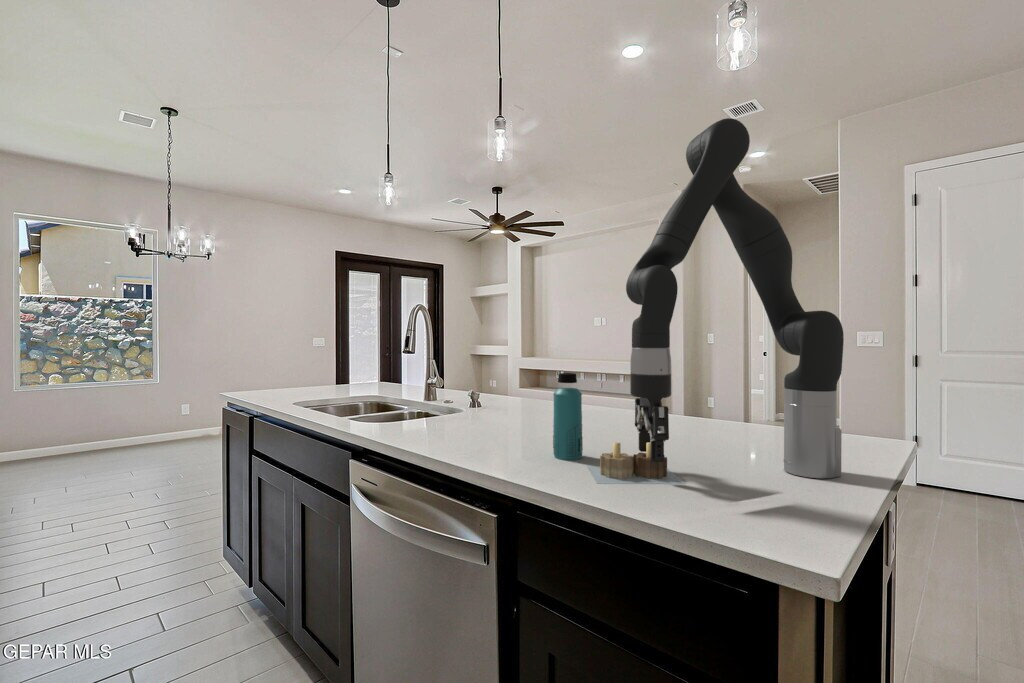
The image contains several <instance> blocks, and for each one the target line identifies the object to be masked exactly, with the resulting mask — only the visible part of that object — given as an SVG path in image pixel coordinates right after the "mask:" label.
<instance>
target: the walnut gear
mask: <svg viewBox="0 0 1024 683" xmlns="http://www.w3.org/2000/svg"><path fill="white" fill-rule="evenodd" d="M632 456H633V473H635V476H638V477H639V476H641V477H646V478H647V479H650V478H658V479H662V477H663V476H664V477H667V468H668V457H667V456H665V454H664V461H663V462H653V461H651V458H647V457H646V452H638V453H637V454H636V453H635V454H633V455H632Z"/></svg>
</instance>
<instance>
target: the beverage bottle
mask: <svg viewBox="0 0 1024 683" xmlns="http://www.w3.org/2000/svg"><path fill="white" fill-rule="evenodd" d="M557 378H558V379H557V382H558V383H560V384H577V382H578V379H577V374H576V373H573V372H561V373H558V377H557ZM552 396H553V431H552V432H553V434H552V445H553V446H552V448H553V456H554V458H555V459H557V460H563V461H575V460H581V459H582V457H583V449H584V448H583V447H584V446H583V438H584V437H583V433H584V432H583V411H582V409H583V408H582V407H583V405H582V401H583V400H582V399H583V398H582V396H583V393H582V392H581V391H580V390H579V389H578V388H577V387H576V388H574V387H558V388H557V389H556V390H555V391H554V392H553V395H552Z"/></svg>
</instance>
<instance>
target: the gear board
mask: <svg viewBox="0 0 1024 683" xmlns="http://www.w3.org/2000/svg"><path fill="white" fill-rule="evenodd" d="M612 452H613V458H620V453H621V442H618V441H617V442H615V441H613V442H612ZM645 453H646V457H647V458H651V442H647V443H646V452H645ZM586 468H587V469H588V471H589V472H590V474H591V476H592V478H593V480H594V481H595V483H596V484H598V485H602V484H603V485H610V484H611V485H687V483H686V482H685V481H684V480H682V479H681V478H680V477H679V476H678V475H676V473H674V472H673V471H672V470H670V469H669V468H668V467H667V477H664V476H663V477H662V479H658V478H650V479H647V478H646V477H641V476H639V477H638V476H635V473H633V475H632V477H631V478H622V479H618V478H612V477H611V478H607V477H606V476H605V475H601V474H600V465H587V466H586Z"/></svg>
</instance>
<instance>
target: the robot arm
mask: <svg viewBox="0 0 1024 683" xmlns="http://www.w3.org/2000/svg"><path fill="white" fill-rule="evenodd" d="M750 142H751V140H750V134H749V131H748V128H747V127H746V126H745V124H743V123H742V122H741V121H740V120H738V119H735V118H729V117H727V118H722V119H720V120H718V121H716V122H714V123H712V124H711V125H710V126H708V127H706V129H704V130H703V131H702V132H700V133H699V134H698V135H696V136H695V137H694V138H693V139H692V140H691V141H690V142H689V143H688V145H687V147H686V151H685V159H686V160H685V161H686V163H687V166H688V168H689V170H690V172H691V174H692V177H691V178H690V180H689V182H688V184H686V187H685V188H684V189H683V191H682V192H681V193H680V195H678V197H677V198H676V199H675V201H674V202H673V203H672V205H671V207H670V208H669V210H668V211H667V212H666V214H665V216H664V217H663V219H662V220H661V222H660V225H659V227H658V229H657V231H656V232H655V235H654V237H653V240H652V242H651V244H649V247H648V248H647V249H646V251H645V252H644V253H643V254H642V255H641V257H640V258H639V259H638V261H637V262H636V263H635V265H634V267H633V268H632V269H631V271H630V273H629V275H628V277H627V280H626V285H625V293H626V295H627V297H628V299H629V300H630V301H631V302H632V303H634V304H635V305H638V306H641V311H640V314H639V316H638V317H637V318H635V319H634V320H633V322H632V325H631V354H630V372H629V373H630V375H629V376H630V379H629V380H630V381H629V382H630V383H629V384H630V386H629V387H630V389H629V390H630V391H629V392H630V395H631V396H632V397H634V398H635V400H634V402H635V403H634V404H635V406H634V427H635V428H636V430H637V433H638V450H639V451H640V453H646V443H647V442H651V461H653V462H663V461H664V455H665V442H666V441H669V439H670V432H669V431H670V428H669V426H670V425H669V424H670V423H669V420H670V418H669V412H670V411H669V410H670V409H669V407H668V406H665V405H663V403H662V402H663V401H662V399H667V398H669V397H671V396H672V356H671V347H670V345H671V344H670V343H671V340H670V339H671V337H670V336H671V335H670V334H671V331H670V330H671V329H670V326H671V322H672V319H673V316H674V312H675V311H674V310H675V307H676V303H677V298H678V287H679V286H678V281H677V278H676V277H677V276H676V275H675V273H674V271H672V269H673V268H674V267H676V266H678V265H679V264H681V263H682V262H683V261H684V260H685V258H686V257H687V255H688V253H689V251H690V249H691V246H692V244H693V242H694V241H695V239H696V238H697V235H698V232H699V231H700V228H701V226H702V224H703V222H704V220H705V218H706V217H707V215H708V213H709V212H710V209H711V208H712V207H713V209H714V211H716V214H717V215H718V218H719V219H720V221H721V223H722V225H723V227H724V229H725V231H726V233H727V234H728V237H729V238H730V240H731V242H732V246H733V247H734V249H735V251H736V253H737V255H738V257H739V259H740V261H741V263H742V265H743V266H744V268H745V270H746V272H747V274H748V276H749V278H750V280H751V282H752V284H753V286H754V288H755V291H756V293H757V294H758V296H759V299H760V300H761V301H760V302H761V303H762V305H763V307H764V310H765V313H766V315H767V317H768V318H767V319H768V321H769V324H770V327H771V329H772V332H773V335H774V338H775V339H776V341H777V343H778V345H779V346H780V348H781V349H782V350H783V351H785V352H786V353H787V354H789V355H793V356H799V359H798V360H799V361H798V365H797V367H796V368H795V369H794V370H793V371H791V372H789V373H786V375H785V376H784V379H783V380H784V381H783V382H784V383H783V384H784V385H783V387H784V388H783V392H784V393H783V400H784V401H783V402H784V403H783V411H784V412H783V418H784V419H783V422H784V423H783V470H784V471H785V472H787V473H789V474H791V475H795V476H800V477H804V478H811V479H812V478H813V479H833V478H836V477H842V439H843V438H842V434H843V433H842V429H841V428H840V427H837V423H838V422H837V417H838V416H837V410H838V409H837V408H838V406H837V405H838V404H837V402H838V397H837V396H838V395H837V394H838V392H837V390H838V389H837V388H838V383H839V380H840V377H841V376H842V370H843V357H844V340H845V339H844V328H843V326H842V323H841V320H840V319H839V317H838V316H837V315H836V314H834V313H832V312H830V311H827V310H812V311H811V310H810V311H805V309H804V308H803V306H802V305H801V303H800V302H799V300H798V298H797V295H796V293H795V291H794V287H793V282H792V277H793V276H792V274H793V273H792V272H793V250H792V246H791V244H790V242H789V240H788V237H787V235H786V233H785V231H784V228H783V227H782V225H781V223H780V222H779V219H778V218H777V216H775V215H774V214H773V213H772V212H771V211H770V210H769V209H767V208H766V207H765V206H763V205H762V204H761V203H759V202H757V200H755V199H753V198H752V197H751V196H750V195H748V194H747V193H746V192H745V191H744V189H743V188H742V187H741V185H740V184H739V182H738V181H737V178H736V177H735V175H734V172H735V171H736V170H737V168H739V166H740V164H741V163H742V162H743V160H744V159H745V157H746V156H747V153H748V151H749V148H750Z"/></svg>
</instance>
